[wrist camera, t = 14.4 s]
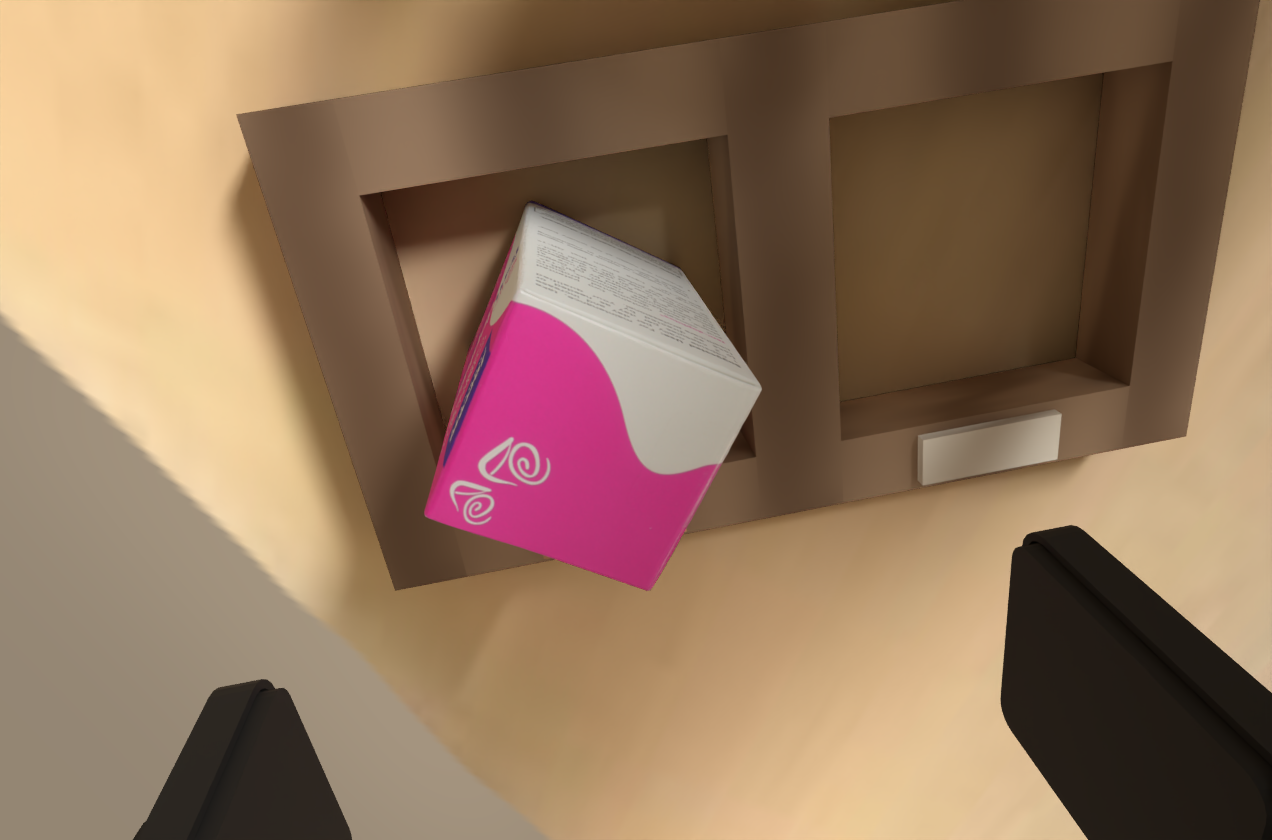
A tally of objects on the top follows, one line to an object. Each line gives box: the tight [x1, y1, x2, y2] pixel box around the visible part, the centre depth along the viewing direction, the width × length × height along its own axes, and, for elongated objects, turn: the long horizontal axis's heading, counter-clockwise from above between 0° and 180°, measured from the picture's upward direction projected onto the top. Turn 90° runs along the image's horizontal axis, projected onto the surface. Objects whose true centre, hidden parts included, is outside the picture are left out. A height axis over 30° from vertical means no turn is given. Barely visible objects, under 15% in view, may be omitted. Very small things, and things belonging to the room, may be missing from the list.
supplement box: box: [424, 201, 762, 591], centre depth 22 cm, size 6×6×12 cm
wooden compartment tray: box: [237, 0, 1260, 591], centre depth 26 cm, size 29×16×3 cm, turn 98°
